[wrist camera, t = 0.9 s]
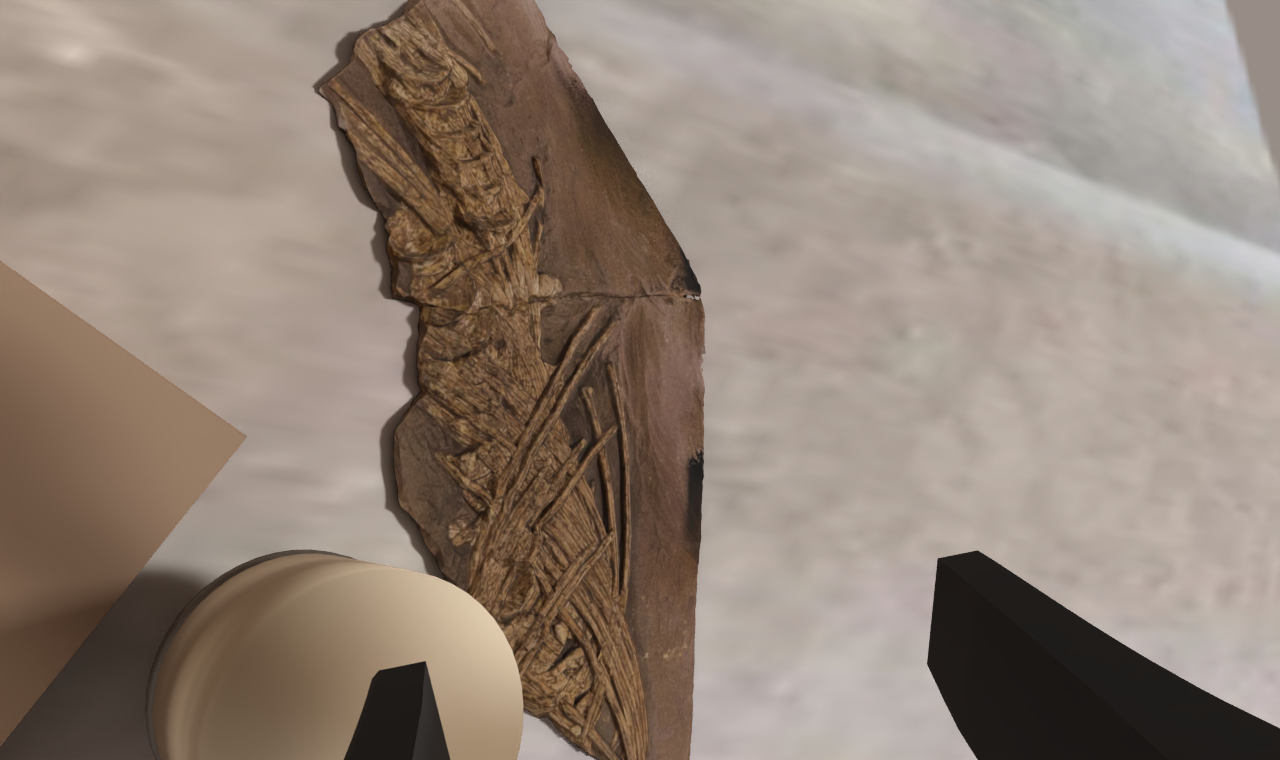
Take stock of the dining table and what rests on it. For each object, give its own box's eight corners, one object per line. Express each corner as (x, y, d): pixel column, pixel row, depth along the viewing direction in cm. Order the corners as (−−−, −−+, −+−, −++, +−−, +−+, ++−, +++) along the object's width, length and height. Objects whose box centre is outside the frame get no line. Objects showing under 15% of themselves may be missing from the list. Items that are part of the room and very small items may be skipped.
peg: (286, 835, 22) (411, 969, 16) (65, 720, 20) (113, 828, 14) (422, 621, 24) (577, 667, 18) (238, 496, 22) (345, 502, 16)
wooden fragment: (289, -61, 24) (300, -81, 23) (634, -22, 31) (653, -36, 30) (468, 921, 25) (486, 937, 24) (769, 757, 31) (792, 765, 30)
